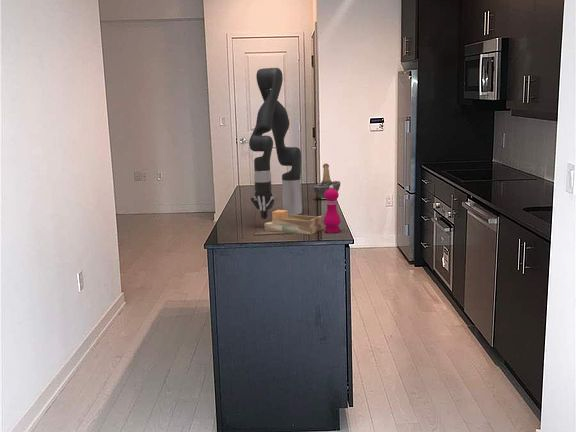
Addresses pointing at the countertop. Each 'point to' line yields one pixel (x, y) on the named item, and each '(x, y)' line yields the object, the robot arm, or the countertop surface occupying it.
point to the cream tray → (296, 224)
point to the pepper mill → (331, 211)
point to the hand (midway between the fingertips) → (264, 218)
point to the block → (280, 214)
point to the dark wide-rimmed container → (325, 183)
